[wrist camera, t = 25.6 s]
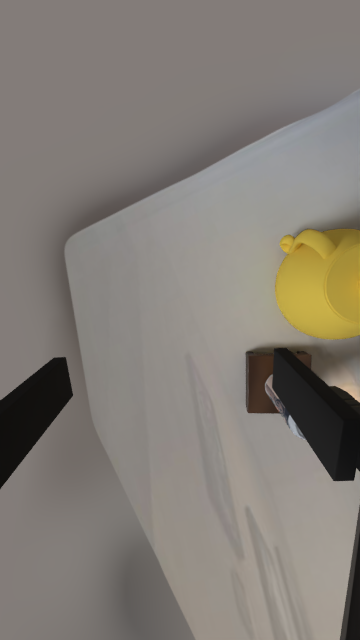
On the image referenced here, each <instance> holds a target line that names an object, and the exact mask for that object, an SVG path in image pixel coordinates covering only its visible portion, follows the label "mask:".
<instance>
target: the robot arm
mask: <svg viewBox="0 0 360 640" xmlns="http://www.w3.org/2000/svg"><path fill="white" fill-rule="evenodd" d="M272 389H273V390H274V392H275V393H276V395H277V396H278V398H279V399H280V401H281V402H282V404H283V405H284V407H285V408H286V410H287V411H288V413H289V414H290V416H291V417H292V419H293V420H294V422H295V423H296V425H297V426H298V428H299V429H300V431H301V433H302V434H303V436H304V437H305V439H306V440H307V442H308V443H309V445H310V446H311V448H312V449H313V451H314V452H315V454H316V455H317V457H318V458H319V460H320V461H321V463H322V464H323V466H324V467H325V469H326V470H327V472H328V473H329V475H330V476H331V478H332V479H333V481H354V478H355V472H356V468H357V469H358V470H359V471H360V403H359V402H358V401H357V400H355V398H353V397H352V396H351V395H350V394H349V393H347V392H346V391H344V390H342V389H340V388H338V387H336V386H328V385H327V384H326V383H325V382H324V381H322V380H321V379H320V378H319V377H318V376H317V375H316V374H315V373H314V372H313V371H311V370H310V369H309V368H308V367H307V366H306V365H305V364H304V363H303V362H302V361H300V360H299V359H298V358H297V357H296V356H295V355H294V354H293V353H292V352H290V351H289V350H288V349H287V348H277V349H274V362H273V379H272ZM72 396H73V393H72V388H71V383H70V377H69V372H68V366H67V361H66V358H65V357H61V358H53V359H52V360H50V361H49V362H48V363H47V364H45V365H44V366H43V367H42V368H40V369H39V370H38V371H37V372H36V373H35V374H33V375H32V376H30V377H29V378H28V379H27V380H26V381H24V382H23V383H22V384H21V385H19V386H18V387H17V388H16V389H14V390H13V391H12V392H10V393H9V394H8V395H7V396H6V397H4V398H3V399H2V400H0V489H1V487H2V486H3V485H4V483H5V482H6V481H7V480H8V478H9V477H10V476H11V474H12V473H13V472H14V471H15V469H16V468H17V467H18V465H19V464H20V463H21V462H22V460H23V459H24V458H25V456H26V455H27V454H28V453H29V451H30V450H31V449H32V447H33V446H34V445H35V444H36V442H37V441H38V440H39V439H40V437H41V436H42V435H43V433H44V432H45V431H46V430H47V428H48V427H49V426H50V424H51V423H52V422H53V421H54V419H55V418H56V417H57V415H58V414H59V413H60V411H61V410H62V409H63V407H64V406H65V405H66V404H67V403H68V401H69V400H70V399H71V397H72ZM340 640H360V507H359V513H358V520H357V527H356V534H355V541H354V547H353V554H352V561H351V568H350V575H349V581H348V588H347V595H346V602H345V608H344V615H343V622H342V629H341V636H340Z"/></svg>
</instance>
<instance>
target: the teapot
mask: <svg viewBox="0 0 360 640" xmlns="http://www.w3.org/2000/svg"><path fill="white" fill-rule="evenodd" d="M280 246H281V248H282V250H283V251H284V252H286V253H288V254H287V256H286V257H285V259H284V260H283V262H282V264H281V266H280V268H279V271H278V273H277V278H276V284H275V293H276V299H277V303H278V306H279V308H280V310H281V312H282V314H283V315H284V317H285V318H286V319H287V321H288V322H289V323H290V324H291V325H292V326H294V327H295V328H296V329H298V330H299V331H301V332H303V333H305V334H307V335H310V336H313V337H317V338H322V339H346V338H352V337H355V336H359V335H360V230H356V229H334V230H327V231H323V232H319V231H317V230H313V229H307V230H304V231H302V232H301V233H300V234H299V235H298V236H297V237H296V238H294V237H293V236H291V235H286V236H284V237H283V238H282V239H281V241H280Z"/></svg>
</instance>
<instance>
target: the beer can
mask: <svg viewBox="0 0 360 640" xmlns="http://www.w3.org/2000/svg"><path fill="white" fill-rule="evenodd" d="M272 379H273V374H272V375H271V376H270V377H269V378H268V379H267V381H266V383H265V390H266V393H267V394H268V396H269V397H270V399H271V400H272V402H273V403H274V405H275V406H276V408H277V409H278V411H279V412H280V414H281V416H282V417H283V419H284V420H285V422H286V423H287V425H288V426H289V428H290V429H291V431H292V432H293V433H294V434H295V435H296V436H298V437H300V438H302V439H305V437H304V436H303V434H302V433H301V431H300V429H299V428H298V426H297V425H296V423H295V422H294V420H293V419H292V417H291V416H290V414H289V413H288V411H287V410H286V408H285V407H284V405H283V404H282V402H281V401H280V399H279V398H278V396H277V395H276V393H275V392H274V390H273V389H272ZM305 440H306V439H305Z"/></svg>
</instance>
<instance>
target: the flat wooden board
mask: <svg viewBox="0 0 360 640" xmlns="http://www.w3.org/2000/svg"><path fill="white" fill-rule="evenodd" d="M293 354H294V355H295V356H296V357H297V358H298V359H299V360H300V361H302V362H303V363H304V364H305V365H306V366H307V367H308V368H309V369H310V370H311V355H310V354H308V353H306V352H304V351H297V353H293ZM273 362H274V354H254V353H253V352H246V407H247V411H248V413H280V412H279V411H278V409H277V408H276V406H275V405H274V403H273V402H272V400H271V399H270V397H269V396H268V394H267V393H266V390H265V383H266V381H267V379H268V378H269V377H270V376H271V375H272V374H273Z"/></svg>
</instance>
